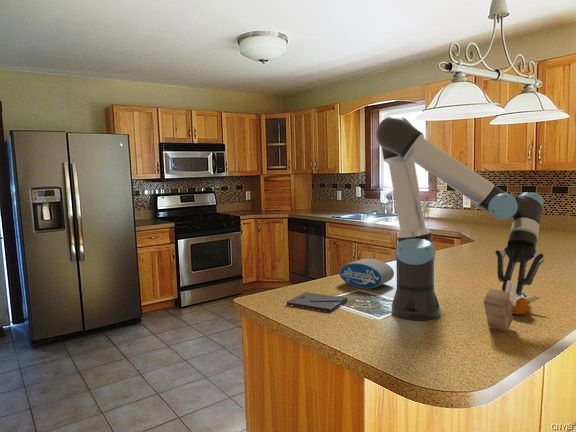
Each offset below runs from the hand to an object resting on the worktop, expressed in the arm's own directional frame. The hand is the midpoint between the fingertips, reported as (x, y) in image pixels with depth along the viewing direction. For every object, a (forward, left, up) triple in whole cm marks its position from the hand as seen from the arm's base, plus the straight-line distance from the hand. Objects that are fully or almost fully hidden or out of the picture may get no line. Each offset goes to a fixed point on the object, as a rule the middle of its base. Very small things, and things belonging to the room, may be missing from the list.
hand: (509, 302), depth 117 cm
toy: (-11, +15, -8) cm, 21 cm away
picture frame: (-44, -42, -9) cm, 62 cm away
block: (-2, -1, -7) cm, 7 cm away
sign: (-58, -15, -8) cm, 61 cm away
